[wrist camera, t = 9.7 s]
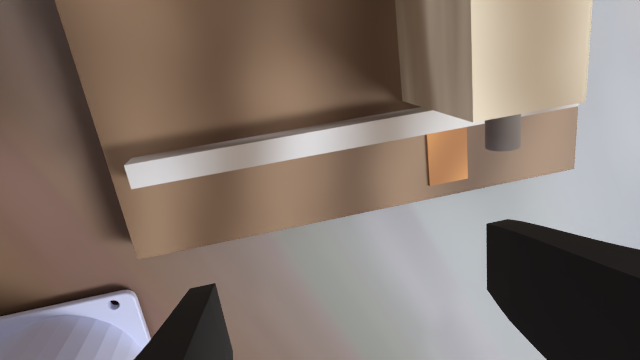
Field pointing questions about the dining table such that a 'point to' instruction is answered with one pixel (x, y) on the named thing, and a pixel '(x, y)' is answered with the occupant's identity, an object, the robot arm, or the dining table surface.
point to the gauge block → (493, 59)
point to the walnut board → (274, 117)
